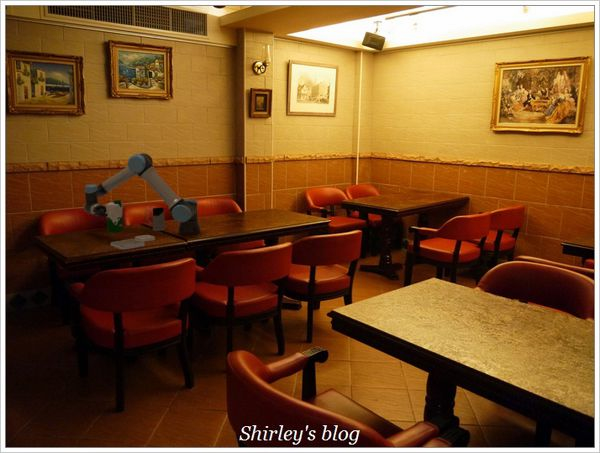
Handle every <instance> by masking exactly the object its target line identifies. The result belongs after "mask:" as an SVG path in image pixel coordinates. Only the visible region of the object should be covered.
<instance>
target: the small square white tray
mask: <svg viewBox="0 0 600 453" xmlns="http://www.w3.org/2000/svg"><path fill="white" fill-rule="evenodd" d="M134 239H135V240H138V241H141V242H144V243H145V242H151V241H156V237H155V236H153V235H149V234H144V235H138V236H134Z"/></svg>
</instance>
